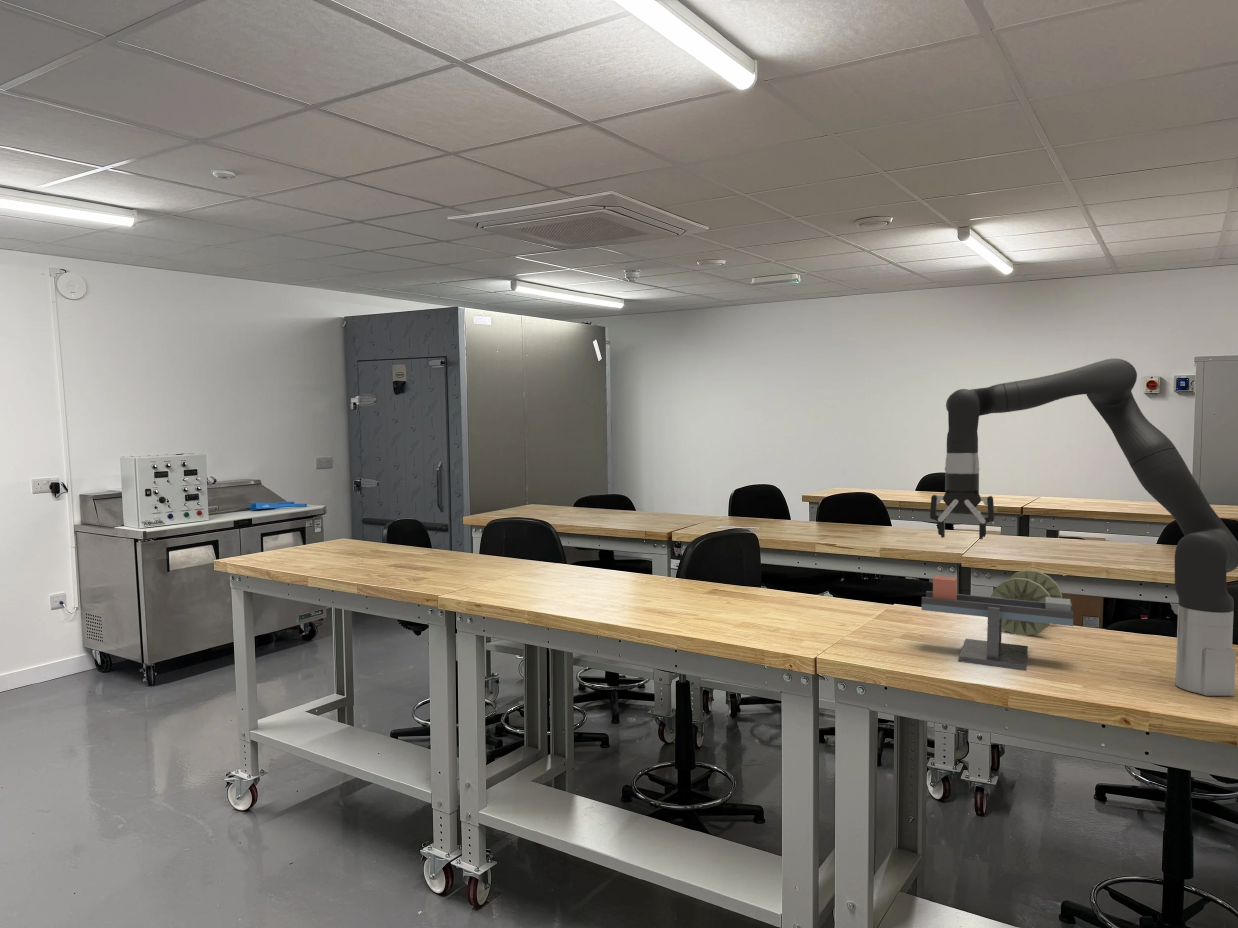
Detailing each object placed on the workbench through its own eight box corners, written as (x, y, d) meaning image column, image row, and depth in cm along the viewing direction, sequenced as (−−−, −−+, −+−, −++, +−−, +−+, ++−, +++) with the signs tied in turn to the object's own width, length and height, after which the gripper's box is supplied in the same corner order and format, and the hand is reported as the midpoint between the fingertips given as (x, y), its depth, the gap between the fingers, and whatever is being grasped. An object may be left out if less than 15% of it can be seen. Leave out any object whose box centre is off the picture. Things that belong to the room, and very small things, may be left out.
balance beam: (1071, 617, 182) (1072, 597, 182) (1073, 627, 173) (1073, 606, 173) (927, 602, 198) (927, 584, 198) (920, 610, 188) (921, 592, 188)
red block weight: (956, 601, 192) (957, 577, 191) (954, 605, 187) (955, 580, 187) (935, 599, 194) (935, 575, 194) (932, 602, 190) (933, 578, 189)
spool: (1051, 639, 201) (1053, 582, 200) (989, 630, 210) (990, 575, 209) (1061, 627, 214) (1062, 573, 213) (1002, 619, 223) (1003, 567, 223)
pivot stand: (1027, 650, 190) (1029, 598, 190) (1026, 670, 174) (1027, 613, 174) (965, 643, 197) (966, 592, 196) (958, 661, 181) (960, 606, 181)
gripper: (995, 471, 188) (994, 537, 189) (932, 470, 195) (931, 535, 195) (994, 472, 182) (993, 541, 182) (929, 471, 188) (928, 538, 189)
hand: (961, 538), depth 189 cm, fingers open, 8 cm apart
